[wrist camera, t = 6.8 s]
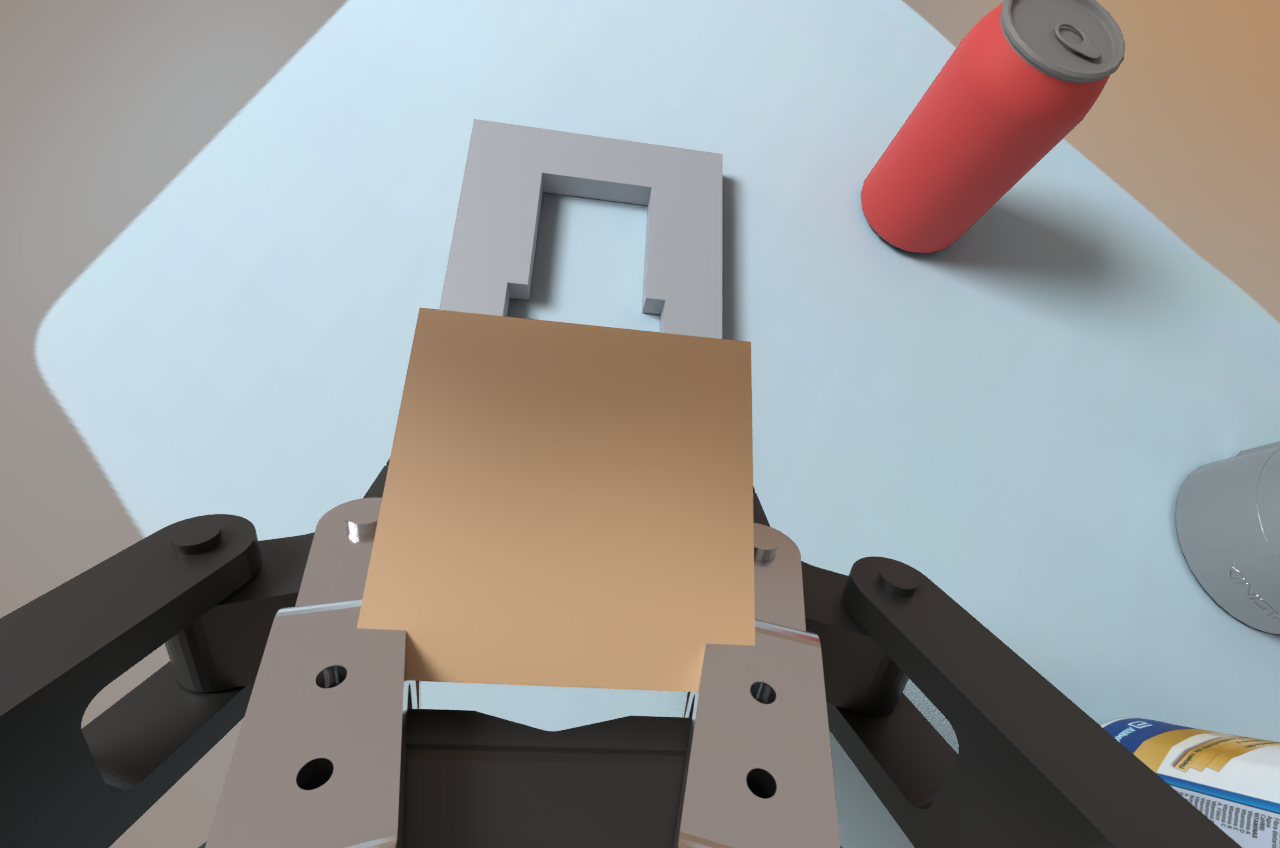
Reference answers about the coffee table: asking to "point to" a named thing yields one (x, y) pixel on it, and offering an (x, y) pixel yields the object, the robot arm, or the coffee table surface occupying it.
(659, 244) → the keyhole plate
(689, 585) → the tan peg
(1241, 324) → the coffee table surface
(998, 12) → the beer can
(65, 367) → the coffee table surface
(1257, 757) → the beverage bottle
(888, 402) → the coffee table surface
